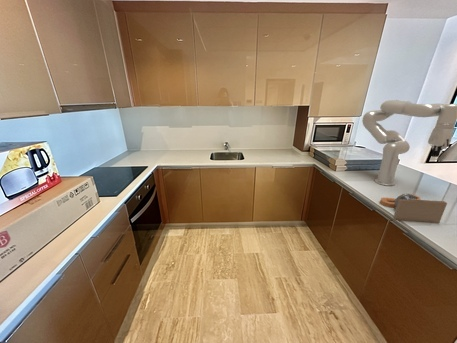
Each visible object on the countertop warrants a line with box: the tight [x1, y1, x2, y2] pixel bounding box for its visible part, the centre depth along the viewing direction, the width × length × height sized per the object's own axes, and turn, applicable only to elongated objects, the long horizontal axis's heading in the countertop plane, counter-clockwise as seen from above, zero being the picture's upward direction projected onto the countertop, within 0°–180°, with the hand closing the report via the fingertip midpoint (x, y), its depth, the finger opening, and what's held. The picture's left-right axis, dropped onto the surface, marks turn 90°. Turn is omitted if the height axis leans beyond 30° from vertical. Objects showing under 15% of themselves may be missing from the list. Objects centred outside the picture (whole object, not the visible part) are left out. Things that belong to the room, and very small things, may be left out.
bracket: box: [379, 193, 421, 209], centre depth 117 cm, size 18×8×7 cm, turn 69°
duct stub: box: [392, 193, 448, 224], centre depth 106 cm, size 12×20×12 cm, turn 78°
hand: (434, 156), depth 119 cm, fingers closed
